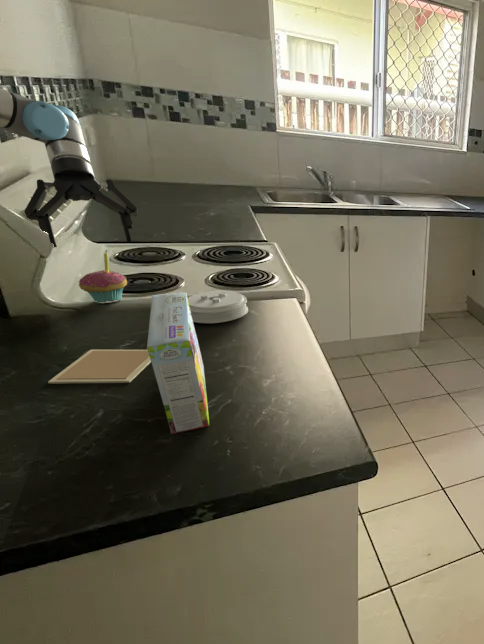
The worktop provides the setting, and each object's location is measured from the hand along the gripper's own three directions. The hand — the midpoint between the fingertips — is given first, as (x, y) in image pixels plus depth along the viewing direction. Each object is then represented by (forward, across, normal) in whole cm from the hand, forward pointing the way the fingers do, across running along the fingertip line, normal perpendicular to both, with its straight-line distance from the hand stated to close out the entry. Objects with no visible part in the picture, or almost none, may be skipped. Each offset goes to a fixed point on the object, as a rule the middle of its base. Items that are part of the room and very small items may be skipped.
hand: (92, 241), depth 111 cm
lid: (+28, -18, +11) cm, 35 cm away
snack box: (+52, -7, +34) cm, 63 cm away
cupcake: (+14, 0, -4) cm, 15 cm away
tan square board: (+39, +2, +22) cm, 45 cm away
